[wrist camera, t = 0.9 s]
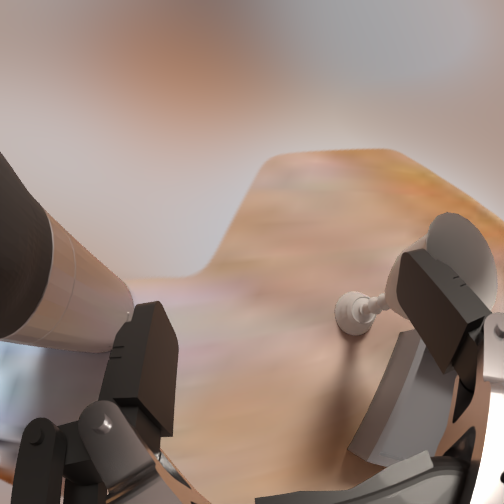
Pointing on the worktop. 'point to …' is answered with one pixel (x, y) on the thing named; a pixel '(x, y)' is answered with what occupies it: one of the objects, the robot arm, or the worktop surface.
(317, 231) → the worktop surface
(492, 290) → the chalice
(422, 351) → the box
